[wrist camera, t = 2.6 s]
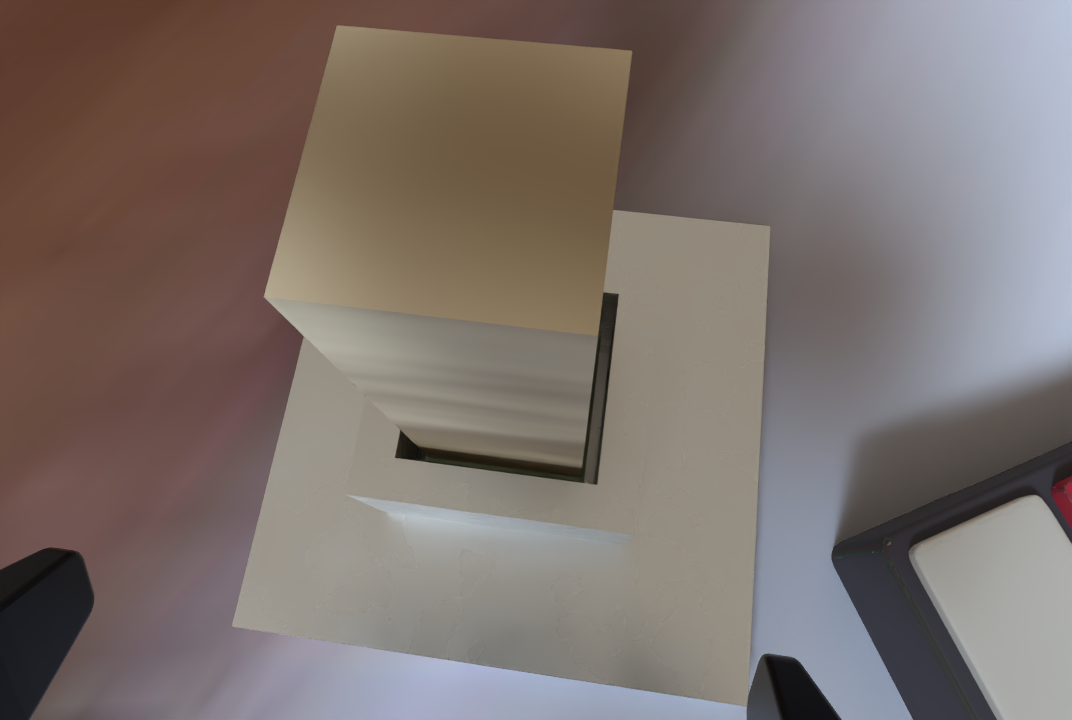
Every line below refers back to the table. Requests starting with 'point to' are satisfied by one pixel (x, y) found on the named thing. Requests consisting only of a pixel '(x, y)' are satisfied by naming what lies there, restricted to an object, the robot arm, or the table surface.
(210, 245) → the table surface
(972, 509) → the calculator
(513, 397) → the column
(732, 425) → the sleeve stand
